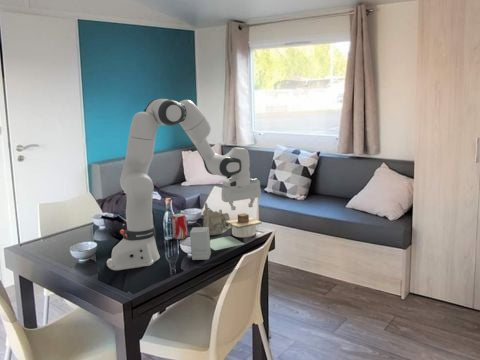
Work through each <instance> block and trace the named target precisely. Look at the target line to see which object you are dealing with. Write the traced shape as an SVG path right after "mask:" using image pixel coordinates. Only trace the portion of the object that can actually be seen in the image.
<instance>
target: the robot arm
mask: <svg viewBox="0 0 480 360" xmlns="http://www.w3.org/2000/svg"><path fill="white" fill-rule="evenodd" d="M178 124H179V125H180V126H181V128H182V129H183V131H184V132H185V134H186V135H187V136H188V138H189V139H190V141H191V142H192V144H193V147H195V149H196V151H197V152H198V154H199V155H200V157H201V159H202V162H203V165H204V169H205V171H206V172H207V173H208V174H210V175H212V176H220V177H226V178H227V179H225V180H222V187H221V188H222V189H221V200H222V202H224V203H228V204H229V205H230V206H231V207H230V208H231V209H230V210H231V211H235V210H236V206H235V205H234V202H237V201H243V200H244V201H245V200H250V201H249V203H248V208H253V207H254V206H253V205H254V202H255V200H256V199H257V198H260V197H261V196H262V189H261V181H260V180H259V179H258V178H251V172H250V166H251V163H250V154H249V151H248V149H247V148H244V147H239V146H238V147H236V146H233V147H232V148H231V150H230V151H228V152H227V153H225V154H224V155H223V154H222V155H221V154H218V153H216V152H215V151H214V149H213V148H212V147H211V145H210V144H209V142H208V140H207V138H208V137H209V135H210V133H211V129H212V128H211V126H210V121H208V119H207V118H206V116H205V114H204V113H203V112H202V111H201V109H200V108H199V107H198V106H197V105H196V104H195V103H194V102H193V100H190V99H183V100H181V101H179V102H178V101H176V100H173V99H168V98H155V99H152V100H151V101H150V102H148V103H147V105H146V107H145V108H144V110H143V111H139V112H136V113H135V114H134V115H133V117H132V119H131V124H130V128H129V132H128V137H127V138H128V139H127V145H126V154H125V160H124V162H123V166H122V170H121V175H120V178H119V184H120V187H121V189H122V190H123V192H125V197H126V203H125V204H126V205H125V206H126V207H125V218H126V219H125V220H126V229H125V230H124V229H120V231H119V234H121V235H122V236H123V238H122V239H121V240H120V241H119V242H118V243H117V244H116V245H115V246H113V248H112V251H111V258H107V261H106V266H107V267H108V269H110V270H112V271H122V270H129V269H136V268H142V267H149V266H152V265H153V264H154V263H155V262H157V261H158V260H159V259H160V258H161V256H160V254H159V253H160V252H159V250H158V247H157V242H156V229H155V225H154V219H153V196H154V194H153V193H154V188H155V186H154V182H153V180H152V178H151V177H150V176H149V175H148V173H149V170H150V166H151V163H152V161H153V159H154V154H155V153H154V152H155V144H156V137H157V131H158V129H159V128H160V126H168V127H169V126H170V127H172V126H175V125H178ZM228 177H229V178H228Z"/></svg>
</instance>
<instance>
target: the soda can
mask: <svg viewBox="0 0 480 360" xmlns="http://www.w3.org/2000/svg"><path fill="white" fill-rule="evenodd" d="M187 223H188V221H187V217H186V214H185V213H183V212H180V213H174V214H173V215H172V218H171V225H172V227H171V228H172V235H173V236H172V237H173V239H175V240H185V239H186V238H187V237H188V224H187ZM184 238H185V239H184Z"/></svg>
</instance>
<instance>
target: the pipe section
mask: <svg viewBox="0 0 480 360" xmlns="http://www.w3.org/2000/svg"><path fill="white" fill-rule="evenodd" d="M231 232H232V233H231V234H232V237H234V238H235V237H236V238H250V237H253V236H255V235H256V234H257V227H256V225H253V226H248V227H243V228H236V227H234V226H232V225H231Z"/></svg>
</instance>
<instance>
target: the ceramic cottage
mask: <svg viewBox="0 0 480 360" xmlns="http://www.w3.org/2000/svg"><path fill="white" fill-rule="evenodd" d="M222 210H223V209H219V211H217V210H215V211H214V210H212V209H211V208H210V207H209V206H208V202H204V210H203V211H202V214H203V223H202V224H203V226H202V227H209V236H216V235H220V234H224V233H225V232H227V231H228V230H229V229H232V225H230V224H228V223H226V221H227V220H231V218H230V214H229V213H228V212H224V213H223V211H222Z"/></svg>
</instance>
